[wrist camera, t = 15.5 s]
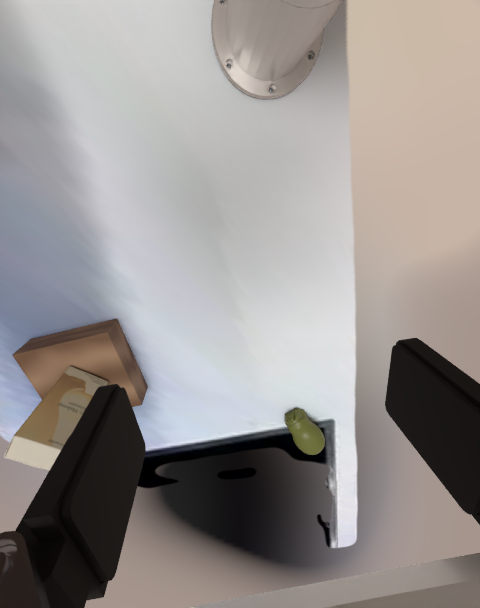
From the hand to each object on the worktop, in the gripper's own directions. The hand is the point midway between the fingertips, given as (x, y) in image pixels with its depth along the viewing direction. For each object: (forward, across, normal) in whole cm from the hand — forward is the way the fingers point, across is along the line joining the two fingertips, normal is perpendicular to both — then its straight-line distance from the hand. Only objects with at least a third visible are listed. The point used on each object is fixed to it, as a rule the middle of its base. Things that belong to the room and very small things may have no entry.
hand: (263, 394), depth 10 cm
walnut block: (+34, +25, +18) cm, 46 cm away
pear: (+34, -10, +39) cm, 53 cm away
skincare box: (+29, +24, +18) cm, 42 cm away
